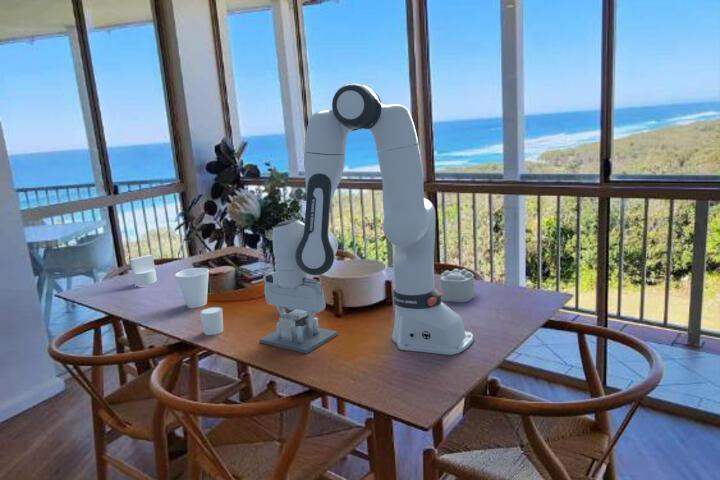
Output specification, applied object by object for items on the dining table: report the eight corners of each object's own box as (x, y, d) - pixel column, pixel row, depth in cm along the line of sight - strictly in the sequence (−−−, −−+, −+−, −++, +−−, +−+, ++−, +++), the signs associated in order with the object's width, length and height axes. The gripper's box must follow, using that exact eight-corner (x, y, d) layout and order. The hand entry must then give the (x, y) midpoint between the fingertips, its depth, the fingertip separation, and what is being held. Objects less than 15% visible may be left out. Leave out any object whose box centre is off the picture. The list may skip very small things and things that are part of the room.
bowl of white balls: (438, 300, 175) (437, 275, 173) (448, 288, 186) (447, 265, 184) (469, 302, 170) (468, 277, 168) (477, 290, 182) (477, 266, 180)
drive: (315, 330, 155) (312, 308, 153) (292, 343, 147) (290, 319, 145) (304, 328, 157) (302, 306, 155) (281, 340, 149) (279, 317, 148)
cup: (208, 297, 198) (203, 265, 195) (218, 304, 188) (213, 271, 186) (176, 304, 192) (171, 272, 189) (185, 313, 182) (179, 279, 179)
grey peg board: (337, 334, 153) (336, 317, 151) (307, 353, 141) (305, 334, 140) (291, 325, 163) (289, 308, 162) (259, 342, 152) (257, 324, 150)
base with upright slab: (152, 279, 229) (147, 253, 226) (160, 283, 222) (156, 256, 220) (131, 285, 223) (126, 258, 220) (139, 288, 216) (134, 261, 214)
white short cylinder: (206, 327, 166) (203, 307, 165) (227, 326, 166) (224, 305, 165) (199, 336, 160) (196, 315, 158) (221, 335, 159) (218, 313, 158)
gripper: (327, 276, 145) (332, 323, 148) (274, 270, 156) (279, 313, 159) (313, 283, 140) (318, 331, 143) (258, 276, 151) (264, 320, 154)
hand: (297, 322), depth 151 cm, fingers open, 8 cm apart
